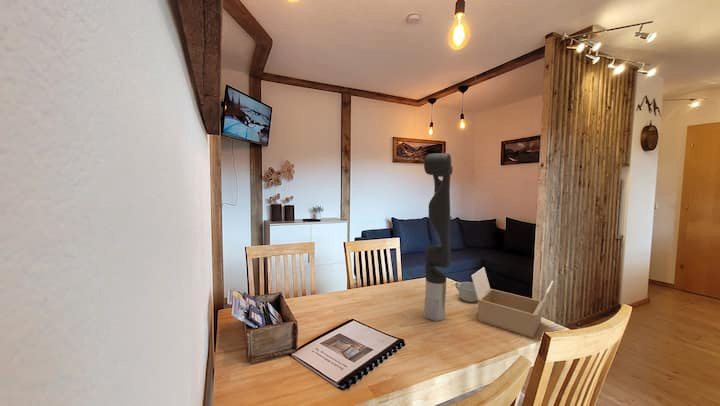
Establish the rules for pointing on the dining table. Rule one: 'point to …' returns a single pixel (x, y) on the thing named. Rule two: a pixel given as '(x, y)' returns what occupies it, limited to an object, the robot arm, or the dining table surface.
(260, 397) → the dining table surface
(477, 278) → the flap
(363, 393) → the dining table surface
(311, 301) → the dining table surface
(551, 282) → the flap
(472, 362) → the dining table surface
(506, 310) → the carton
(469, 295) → the teacup
